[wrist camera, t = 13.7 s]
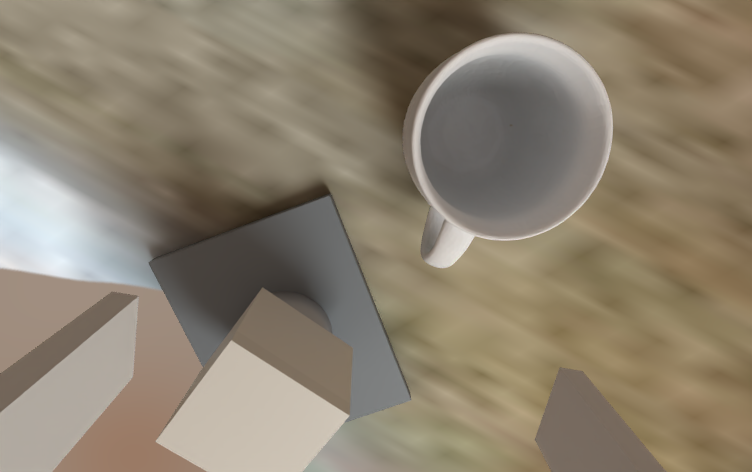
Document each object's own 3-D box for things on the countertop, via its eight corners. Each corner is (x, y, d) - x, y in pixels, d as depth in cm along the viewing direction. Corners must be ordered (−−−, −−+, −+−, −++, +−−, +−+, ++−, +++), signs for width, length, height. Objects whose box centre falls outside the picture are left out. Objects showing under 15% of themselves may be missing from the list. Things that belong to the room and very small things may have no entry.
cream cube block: (291, 423, 37) (271, 508, 29) (202, 368, 36) (155, 441, 28) (353, 347, 36) (349, 415, 28) (262, 287, 34) (231, 340, 26)
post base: (154, 258, 39) (81, 308, 29) (330, 192, 38) (318, 221, 28) (251, 445, 44) (218, 544, 34) (409, 392, 43) (424, 478, 33)
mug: (479, 259, 40) (533, 326, 27) (359, 218, 39) (357, 268, 26) (552, 89, 36) (653, 75, 24) (423, 38, 35) (456, -5, 23)
